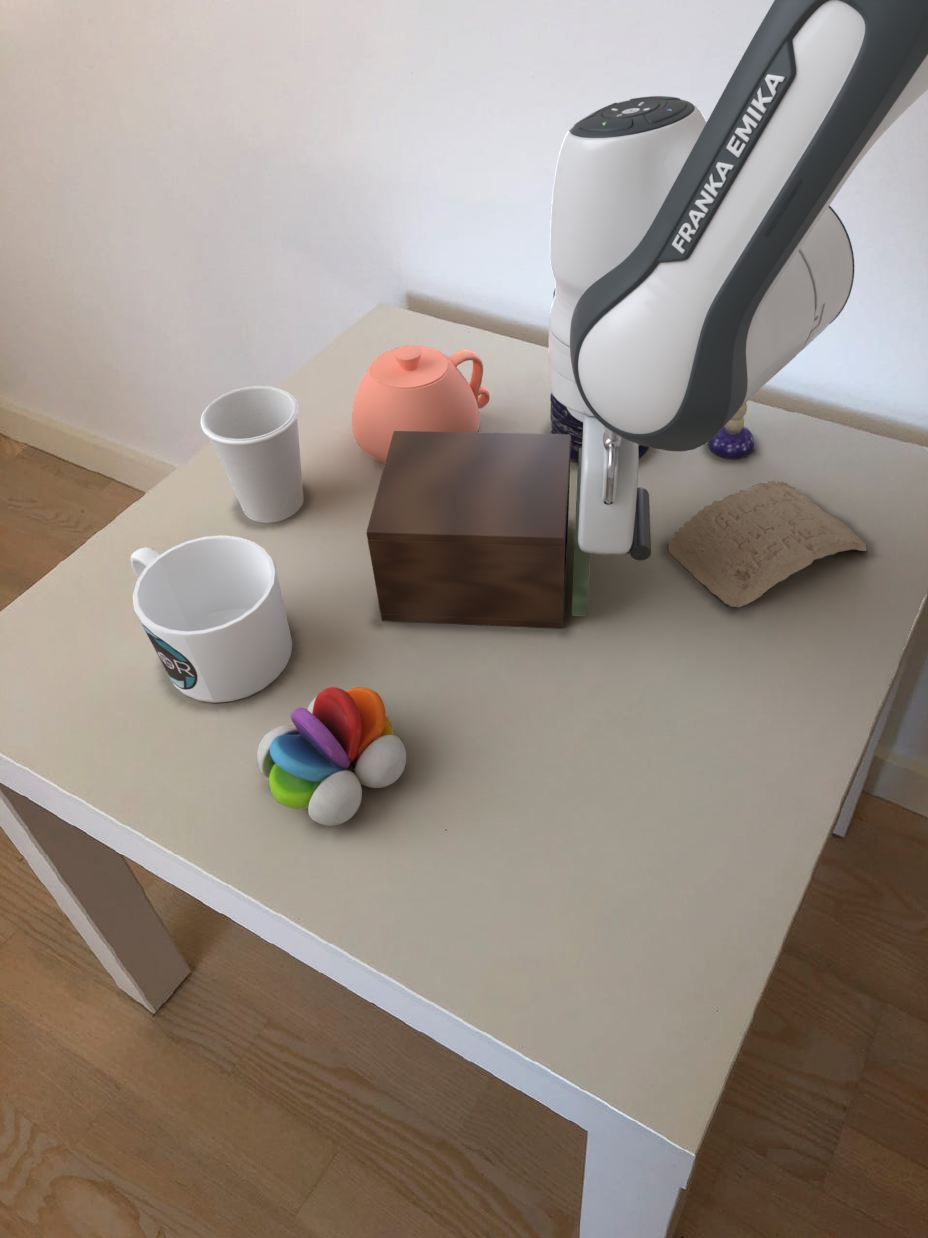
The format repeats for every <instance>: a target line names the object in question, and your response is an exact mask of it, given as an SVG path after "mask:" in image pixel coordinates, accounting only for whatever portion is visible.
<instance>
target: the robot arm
mask: <svg viewBox="0 0 928 1238" xmlns="http://www.w3.org/2000/svg"><path fill="white" fill-rule="evenodd" d="M927 91H928V0H773V2H772V4H771V5H770V7H769V9H768V11H767V13H766V14H765V16H764V18H763V19H762V21H761V22H760V25H759V27H758V28H757V30H756V32H755V33H754V35H753V36H752V38H751V41H750V42H749V43H748V46H747V48H746V49H745V51H744V53H743V55H742V57H741V58H740V60H739V62H738V63H737V66H736V67H735V69H734V71H733V73H732V75H731V76H730V78H729V81H728V82H727V84H726V86H725V88H724V90H723V91H722V93H721V95H720V97H719V99H718V100H717V102H716V104H715V106H714V108H713V110H712V112H711V114H710V116H709V117H708V119H706V117H705V116H704V113H703V112H702V110H701V109H700V108H699V107H698V106H697V105H696V104H694V103H692V102H691V101H688V100H685V99H681V98H680V97H677V96H676V97H675V96H668V95H667V96H666V95H665V96H663V95H653V96H641V97H635V98H630V99H629V100H624V101H619V102H613V103H611V104H608V105H605V106H603V107H601V108H599V109H597V110H596V111H594V112H592V113H589V114H588V115H586V116H584V117H583V118H581V119H579V121H577V122H576V123H575V124H573V126H572V127H571V128H569V130H568V131H567V132H566V134H565V135H564V138H563V141H562V143H561V146H560V150H559V152H558V156H557V162H556V166H555V170H554V171H555V172H554V179H553V186H552V194H551V208H550V226H549V263H550V268H551V271H552V275H553V278H554V279H553V280H554V284H555V288H556V290H555V289H554V290H555V297H554V300H552V303H551V306H550V310H549V315H548V354H547V355H548V358H547V360H548V361H547V363H548V365H547V367H548V368H547V373H548V374H547V383H548V388H549V390H550V394H551V393H552V394H553V396H554V397H555V398H556V399H557V400H558V401H559V402H560V403H562V404H563V405H564V406H566V407H567V409H568V411H569V412H570V413H571V415H572V416H574V417H575V418H576V419H578V420H579V421H581V422H583V441H582V463H581V485H580V507H579V529H578V544H579V547H580V549H581V550H582V551H583V552H586V553H591V554H598V555H626V554H625V553H627V552H628V551H629V550H630V548H631V546H632V541H633V533H634V522H635V511H636V498H637V488H638V486H639V485H638V484H639V466H640V465H639V461H640V459H639V450H638V444H639V445H642V446H646V447H650V448H651V449H656V450H662V451H667V452H686V451H687V452H688V451H691V450H695V449H698V448H700V447H702V446H704V445H706V444H708V442H709V441H710V440H711V439H713V438H714V437H715V436H716V434H717V433H718V432H719V431H720V430H721V429H722V428H723V427H724V426H725V425H726V424H727V423H728V421H729V420H730V419H731V418H732V417H733V416H734V415H735V414H736V413H737V412H738V410H739V409H740V408H741V406H742V404H743V403H745V402H746V401H747V400H748V401H749V399H750V398H752V396H754V395H755V394H756V393H757V392H759V390H760V389H761V388H762V387H764V386H765V385H766V384H767V383H769V382H770V380H771V379H772V378H774V377H775V376H776V375H777V374H778V373H779V372H780V371H781V370H782V369H783V368H785V367H786V366H787V365H788V364H789V363H790V362H791V361H792V360H794V358H796V357H797V356H798V355H799V354H800V353H801V352H802V351H803V350H805V349H806V347H808V346H809V345H810V344H811V343H812V342H813V341H814V340H815V339H816V338H817V337H818V336H820V334H821V333H823V332H824V331H825V329H827V328H828V327H829V326H830V325H831V324H832V323H833V322H834V321H835V320H836V319H837V318H838V317H839V316H840V314H841V313H842V312H843V310H844V308H845V306H846V304H847V303H848V300H849V299H850V297H851V294H852V293H851V292H852V289H853V285H854V279H855V255H854V250H853V245H852V241H851V238H850V236H849V233H848V230H847V228H846V226H845V225H844V223H843V220H842V219H841V218H840V216H839V215H838V213H837V212H836V211H835V210H834V208H832V206H831V204H832V203H833V201H834V200H835V198H836V197H837V195H838V194H839V192H840V191H841V189H842V188H843V186H844V185H845V184H846V182H847V181H848V179H849V177H850V176H851V175H852V173H853V172H854V171H855V169H856V168H857V166H858V165H859V163H860V162H861V161H863V158H865V156H866V155H867V153H868V152H869V151H870V150H871V149H872V148H873V146H874V145H875V144H876V142H877V141H878V140H879V139H880V138H881V137H882V136H883V135H884V134H885V132H887V130H888V129H889V128H890V127H891V126H892V125H893V124H894V123H895V122H896V121H897V120H898V119H899V117H901V115H903V114H904V113H905V112H906V111H907V110H908V109H909V108H910V107H911V106H912V105H913V104H914V103H915V102H916V101H917V100H918V99H919V98H920V97H922V96H923V95H924V94H925V93H926V92H927ZM748 401H747V402H748ZM650 448H649V449H650Z"/></svg>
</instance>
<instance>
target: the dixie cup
mask: <svg viewBox="0 0 928 1238" xmlns="http://www.w3.org/2000/svg"><path fill="white" fill-rule="evenodd" d="M299 413H300V405H299V402H298V400H297V399H296V397H294V396H293V395H292V393H290V392H288V391H286V390H284V389H283V388H282V389H281V388H279V387H275V386H269V385H251V386H245V387H239V388H236V389H233V390H230V391H227V392H225V393H223V394H221V395H219V396H218V397H216V398H215V399H214V400H212V401H211V402H210V403H209V404H208V405H207V406H206V408H205V409H204V410H203V412H202V414H201V416H200V427H201V429H202V431H203V433H204V434H205V435H206V436H207V437H208V439H209V441H210V443H211V446H212V448H213V450H214V452H215V454H216V456H217V459H218V460H219V462H220V465H221V467H222V469H223V471H224V473H225V475H226V477H227V479H228V482H229V484H230V486H231V488H232V490H233V492H234V494H235V496H236V498H237V501H238V503H239V505H240V507H241V509H242V511H243V513H244V515H245V516H246V517H247V518H248V519H250V520H251V521H254V522H256V523H262V524H273V523H278V522H282V521H285V520H288V519H289V518H291V517H293V516H294V515H295V514H297V513H298V512H299V511H300V510H301V508H302V506H303V504H304V489H303V487H304V486H303V473H302V463H301V462H302V461H301V449H300V436H299V424H298V416H299Z"/></svg>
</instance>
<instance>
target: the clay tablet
mask: <svg viewBox="0 0 928 1238" xmlns="http://www.w3.org/2000/svg"><path fill="white" fill-rule="evenodd" d="M667 545H668V546H669V547H668V552H669V554H670V555H671V556H672V557H673V558H675V560H677V561H678V563H679V564H680V565H682V566H683V567H684V568H685V569H686V570H687V571H688V572H689V573H691V575H692V576H693V577H694V578H695V579H696V580H697V581H698V582H700V584H701V585H704V586H705V587H706V588H707V589H708V590H709V592H710V593H711V594H712V595H716V596H717V597H718V598H719V599H720V601H722V603H724V604H725V605H728V606H729V607H732V608H733V607H735V608H741V607H744V606H748V605H749V604H750V603H752V602H755V601H756V600H757V599H758V598H761V597H762V596H763V594H764V593H767V592H768V590H769V589H771V588H773V587H774V586H776V585H777V584H778V583H780V582H783V581H784V580H787V578H788V579H789V578H790V577H789V576H790V575H793V574H795V573H797V572H799V571H801V570H804V569H805V568H807V567H808V566H810V565H812V563H813V562H814V560H820V559H823V558H824V557H828V556H829V555H830V556H834V555H835V554H837V553H839V552H845V551H851V550H857V551H858V552H860V551H861V552H866V551H867V547H866V543H865V542H864V540H863V539H861V538H860V537H859V536H858V535H857V534H856V533H854V532H853V531H852V530H851V529H850V527H848V525H846V524H845V523H844V522H843V521H842V520H839V519H837V518H835V516H832V515H830V514H828V513H827V512H826V511H824V510H823V508H821V507H820V506H819V505H817V504H816V503H815V502H813V501H812V500H811V499H809V498H808V497H807V496H805V495H804V493H802V491H800V490H798V489H796V487H795V486H792V485H790V484H789V483H787V482H784V481H778V480H777V481H774V480H766V482H760V483H757V484H755V485H752V487H750V488H749V489H741V490H739V491H737V492H735V493H733V494H732V493H731V494H729V495H726V496H724V497H723V498H721V499H719V500H714V501H712V503H711V504H708V505H706V506H704V507H703V508H702V509H700V510H699V511H698V512H696V514H694V515H693V516H691V518H690V519H689V520H688V521H685V522H684V523H683V526H681V527H679V528H678V530H677V531H675V532H674V533H673V536H672V538H671V539H670V540H669V541H668V544H667Z"/></svg>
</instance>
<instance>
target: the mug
mask: <svg viewBox="0 0 928 1238" xmlns="http://www.w3.org/2000/svg"><path fill="white" fill-rule="evenodd" d="M129 560H130V565H131V568H132V571H133V573H134V575H135V576H136V578H137V580H136V582H135V586H134V589H133V593H132V604H133V605H132V606H133V610H134V612H135V614H136V616H137V618H138V620H139V622H140V624H141V626H142V628H143V630H144V631H145V634H146V635H147V637H148V639H149V641H150V643H151V645H152V647H153V648H154V651H155V653H156V655H157V656H158V658H159V660H160V662H161V664H162V666H163V668H164V670H165V672H166V673H167V676H168V678H169V679H170V681H171V682H172V684H173V686H174V687H175V689H177V690H178V691H179V692H180V693H182V694H183V695H184V696H187V697H189V698H191V699H194V700H196V701H199V702H207V703H215V704H217V703H226V702H233V701H238V700H241V699H244V698H245V699H246V698H248V697H251V696H252V695H254V694H256V693H258V692H261V691H263V690H264V689H265V688H266V687H268V686H269V685H271V684H272V683H273V682H274V681H275V680H277V679H278V677H279V676H280V675H281V673H283V671H284V670H285V669H286V667H287V665H288V663H289V661H290V658H291V656H292V649H293V640H292V635H291V630H290V626H289V621H288V617H287V612H286V607H285V603H284V599H283V594H282V588H281V584H280V580H279V575H278V570H277V566H276V564H275V560H274V558H272V556H271V555H270V554H269V552H268V551H267V550H266V549H265V548H264V547H262V546H261V545H259V544H258V543H257V542H254V541H253V540H249V539H246V538H243V537H240V536H232V535H223V534H220V535H209V536H208V535H207V536H202V537H198V538H194V539H190V540H187V541H186V540H185V541H184V542H182V543H180V544H177V545H175V546H173V547H170V548H169V549H167V550H166V551H164V552H162V553H161V554H160V553H159V552H157V551H156V550H154V549H153V548H150V547H147V546H145V547H140V548H138V549H137V550H135V551H134V552H132V553H131V554H130V559H129Z"/></svg>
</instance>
